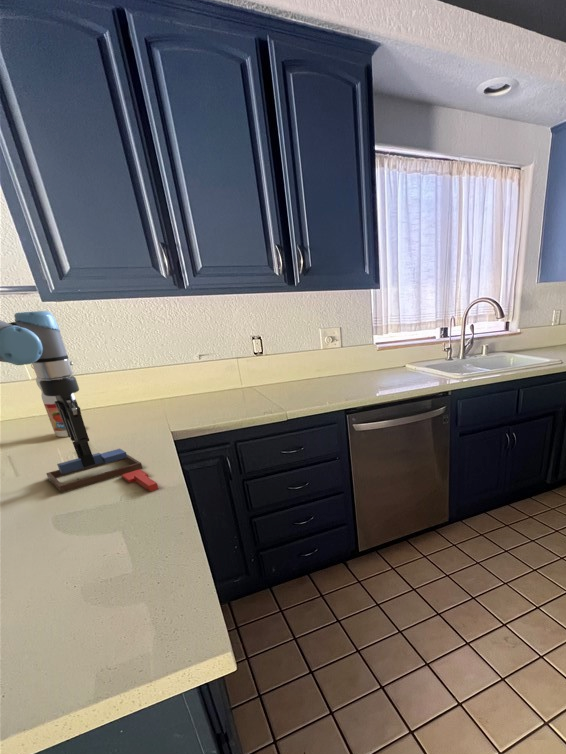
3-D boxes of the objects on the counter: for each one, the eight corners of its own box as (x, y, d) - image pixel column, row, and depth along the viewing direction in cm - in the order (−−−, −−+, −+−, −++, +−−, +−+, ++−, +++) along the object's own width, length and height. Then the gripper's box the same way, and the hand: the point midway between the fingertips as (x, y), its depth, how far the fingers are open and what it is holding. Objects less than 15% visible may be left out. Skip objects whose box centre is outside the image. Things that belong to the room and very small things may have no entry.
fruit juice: (79, 427, 162) (52, 351, 150) (91, 431, 157) (65, 353, 146) (51, 435, 155) (21, 355, 143) (62, 439, 150) (32, 357, 139)
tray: (62, 495, 108) (59, 486, 107) (49, 481, 117) (46, 473, 116) (143, 470, 121) (141, 462, 120) (126, 459, 130) (123, 452, 129)
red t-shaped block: (165, 489, 109) (162, 481, 108) (145, 496, 106) (142, 487, 105) (141, 474, 119) (139, 466, 118) (122, 480, 116) (120, 471, 115)
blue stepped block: (63, 475, 111) (60, 467, 110) (58, 470, 114) (55, 462, 113) (127, 457, 121) (125, 449, 120) (121, 453, 124) (119, 445, 123)
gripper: (83, 378, 104) (112, 466, 114) (66, 372, 114) (94, 454, 124) (46, 384, 99) (80, 475, 109) (31, 377, 109) (64, 462, 119)
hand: (88, 464), depth 116 cm, fingers closed on blue stepped block, 2 cm apart
